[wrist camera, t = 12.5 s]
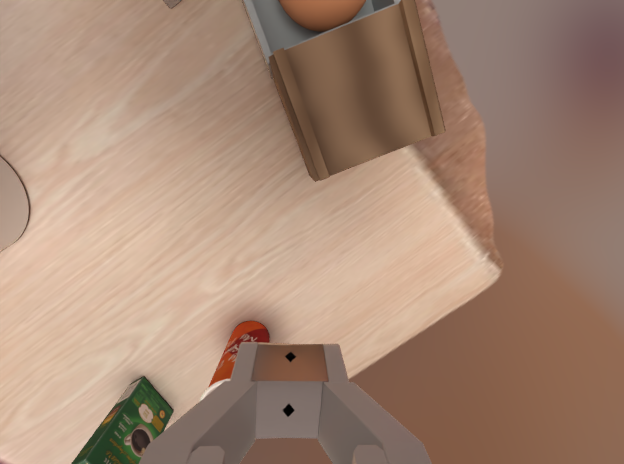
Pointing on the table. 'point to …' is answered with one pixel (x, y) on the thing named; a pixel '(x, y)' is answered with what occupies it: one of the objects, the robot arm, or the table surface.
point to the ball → (322, 12)
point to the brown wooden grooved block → (359, 90)
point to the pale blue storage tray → (291, 24)
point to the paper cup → (236, 351)
